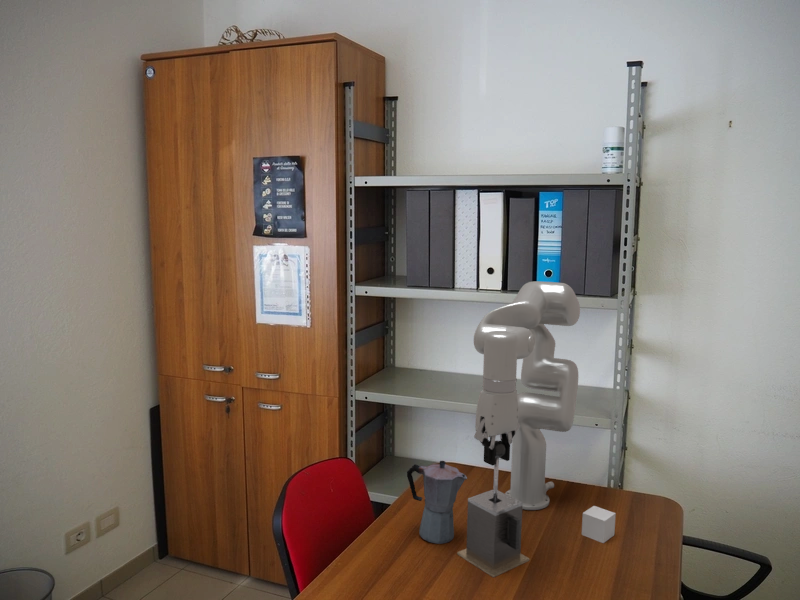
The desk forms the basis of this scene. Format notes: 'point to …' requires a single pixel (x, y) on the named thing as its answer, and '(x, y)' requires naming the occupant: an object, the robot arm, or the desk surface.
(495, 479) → the ball knob lever
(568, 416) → the robot arm
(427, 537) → the moka pot
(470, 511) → the grey slotted box
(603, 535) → the white cube
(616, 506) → the desk surface
